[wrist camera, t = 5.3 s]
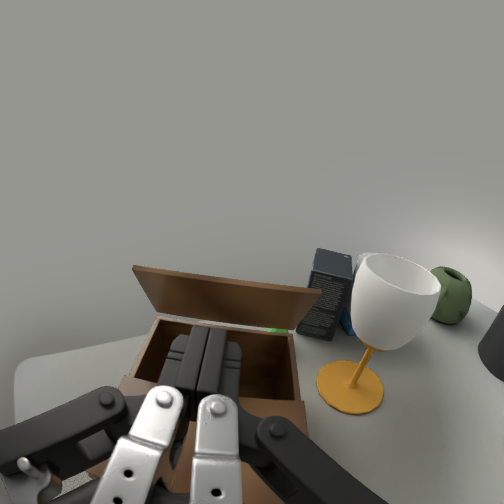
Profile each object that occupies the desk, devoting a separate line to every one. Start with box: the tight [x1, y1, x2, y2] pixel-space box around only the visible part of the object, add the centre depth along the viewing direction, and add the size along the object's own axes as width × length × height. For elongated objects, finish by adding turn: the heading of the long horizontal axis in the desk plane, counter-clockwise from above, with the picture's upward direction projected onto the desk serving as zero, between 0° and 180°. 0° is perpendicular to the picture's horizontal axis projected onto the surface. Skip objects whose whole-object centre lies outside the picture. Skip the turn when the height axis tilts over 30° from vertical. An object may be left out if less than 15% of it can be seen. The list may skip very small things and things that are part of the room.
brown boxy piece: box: [85, 316, 308, 504], centre depth 19 cm, size 13×17×9 cm
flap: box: [132, 265, 321, 330], centre depth 21 cm, size 13×8×1 cm
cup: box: [316, 253, 441, 415], centre depth 26 cm, size 9×9×16 cm
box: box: [296, 248, 353, 341], centre depth 39 cm, size 8×6×11 cm
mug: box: [430, 267, 472, 324], centre depth 45 cm, size 16×13×9 cm
